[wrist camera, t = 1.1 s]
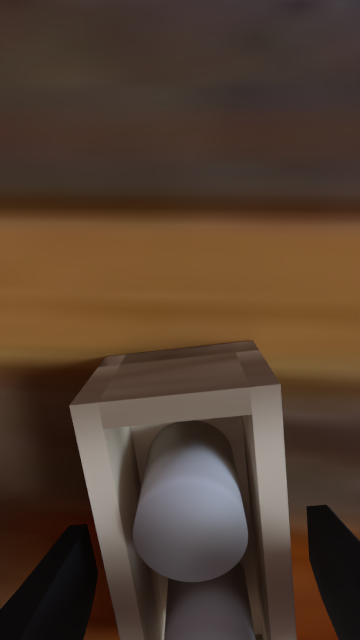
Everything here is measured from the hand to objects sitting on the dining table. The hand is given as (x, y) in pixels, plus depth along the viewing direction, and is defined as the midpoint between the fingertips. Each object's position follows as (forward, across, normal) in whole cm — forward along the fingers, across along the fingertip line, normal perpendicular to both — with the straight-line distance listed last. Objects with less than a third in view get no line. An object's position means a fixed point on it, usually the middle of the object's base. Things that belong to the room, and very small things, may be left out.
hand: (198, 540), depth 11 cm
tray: (+2, 0, 0) cm, 2 cm away
